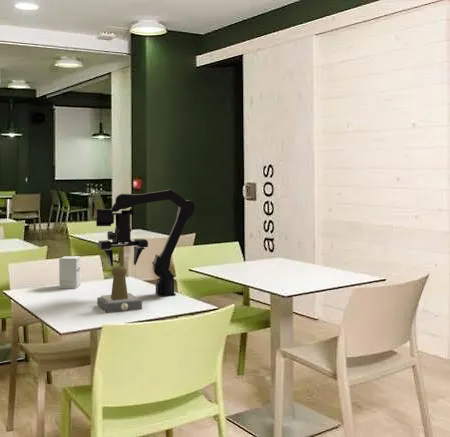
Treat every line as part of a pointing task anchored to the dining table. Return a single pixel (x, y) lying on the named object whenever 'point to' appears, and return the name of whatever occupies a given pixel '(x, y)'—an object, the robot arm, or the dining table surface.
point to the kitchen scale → (119, 303)
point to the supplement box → (69, 272)
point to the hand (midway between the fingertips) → (123, 265)
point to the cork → (119, 283)
